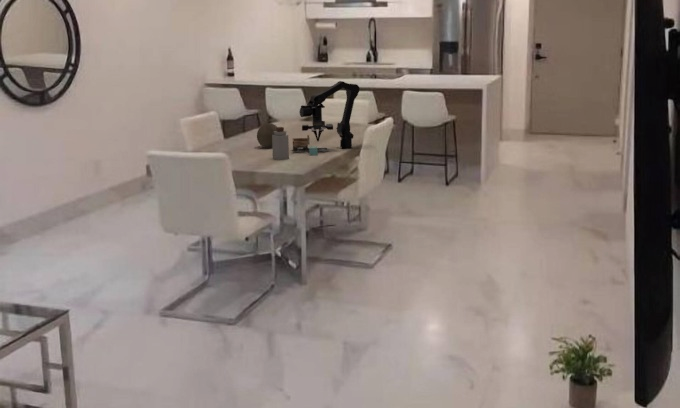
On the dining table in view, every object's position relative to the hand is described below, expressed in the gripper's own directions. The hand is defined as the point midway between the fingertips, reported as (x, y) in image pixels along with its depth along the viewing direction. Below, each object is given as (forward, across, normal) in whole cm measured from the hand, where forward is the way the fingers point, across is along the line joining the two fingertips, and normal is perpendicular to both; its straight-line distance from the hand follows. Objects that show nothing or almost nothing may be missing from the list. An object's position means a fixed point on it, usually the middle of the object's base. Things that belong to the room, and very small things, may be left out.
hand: (317, 141), depth 454 cm
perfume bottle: (+6, -22, -22) cm, 32 cm away
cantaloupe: (+6, -30, +16) cm, 35 cm away
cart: (+4, -10, 0) cm, 11 cm away
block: (+6, -3, -13) cm, 15 cm away
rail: (+6, -5, 0) cm, 7 cm away
